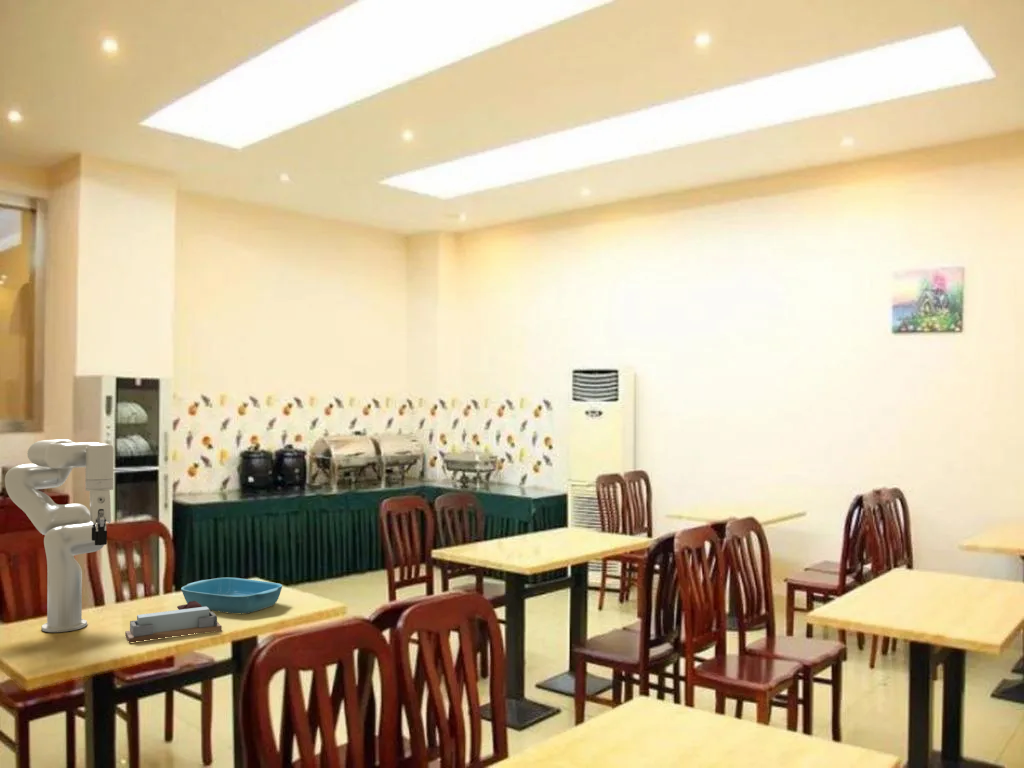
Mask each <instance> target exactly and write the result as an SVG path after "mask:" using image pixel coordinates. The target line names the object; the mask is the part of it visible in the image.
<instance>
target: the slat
mask: <svg viewBox="0 0 1024 768" xmlns="http://www.w3.org/2000/svg"><path fill="white" fill-rule="evenodd" d="M209 611H210V610H209V608H208V607H207V606H206V607H198V608H190V609H182V610H179V609H174V610H166V611H159V612H157V611H156V612H151V613H142V614H136V620H137V626H138V625H146V624H153V633H157V632H165V631H172V630H179V629H187V628H194V627H198V618H201V617H208V616H209Z"/></svg>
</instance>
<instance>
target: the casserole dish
mask: <svg viewBox="0 0 1024 768" xmlns="http://www.w3.org/2000/svg"><path fill="white" fill-rule="evenodd" d="M282 589H283V584H281V583H278V582H277V583H276V582H272V581H262V580H255V579H248V578H240V577H217V578H211V579H201V580H198V581H194V582H190V583H187V584H186V585H184V586H182V587H181V588H180V590H181V593H182V595H183V597H184V600H185V602H186V603H187V604H188V602H190V601H191V602H192V601H197V602H198V603H199V604H201V606H202V607H206V606H207V607H208V608H209V611H211V610H213V611H212V612H218V611H220V612H219V613H225V612H228V613H227V614H232V613H241V614H240V615H243V614H242V613H246V614H250V612H251V613H255V612H258V611H260V610H264V608H265V609H267V608H270V606H271V607H273V606H274V605H275V604H276V603H277V602H278V600H279V598H280V595H281V592H282ZM254 611H255V612H254Z"/></svg>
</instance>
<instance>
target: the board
mask: <svg viewBox="0 0 1024 768" xmlns="http://www.w3.org/2000/svg"><path fill="white" fill-rule="evenodd" d="M222 628H223V627H222V625H221V624H220V623H219V622H218V621H217V626H213V627H206V628H198V627H194V628H187V629H179V630H172V631H165V632H157V633H153V635H147V636H139V637H133V636H132V634H131V632H130V630H125V633H124V635H125V636H126V637H125V638H126V640H127V642H128V641H129V642H128V644H129V643H130V642H136V641H144V640H150V639H158V638H165V637H172V636H181V635H188V634H194V633H195V634H196V633H203V634H206V633H205V632H210V633H214V631H217V632H221V631H222ZM196 635H197V634H196ZM188 636H189V635H188ZM181 637H182V636H181ZM130 644H131V643H130Z"/></svg>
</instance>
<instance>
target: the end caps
mask: <svg viewBox="0 0 1024 768" xmlns="http://www.w3.org/2000/svg"><path fill="white" fill-rule="evenodd" d="M217 622H218V616H217V614H215V612H214V611H211V610H209V616H208V617H201V618H198V628H206V627H213V626H217ZM129 631H130V632H131V634H132V636H133V637H139V636H147V635H153V624H146V625H138V626H137V619H136V620H130V621H129Z"/></svg>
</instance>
